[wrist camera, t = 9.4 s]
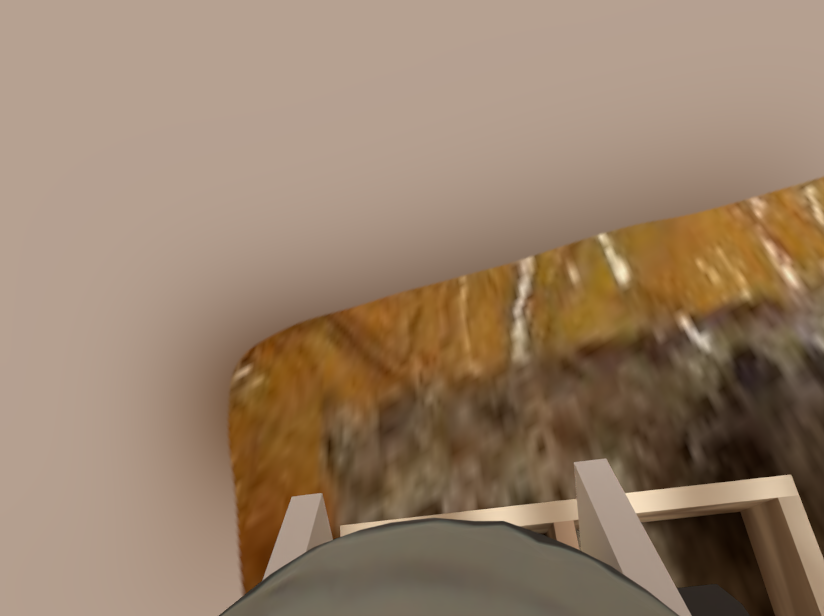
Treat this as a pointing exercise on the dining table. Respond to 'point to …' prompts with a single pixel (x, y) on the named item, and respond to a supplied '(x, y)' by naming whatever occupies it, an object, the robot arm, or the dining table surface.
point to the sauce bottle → (447, 576)
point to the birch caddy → (755, 498)
